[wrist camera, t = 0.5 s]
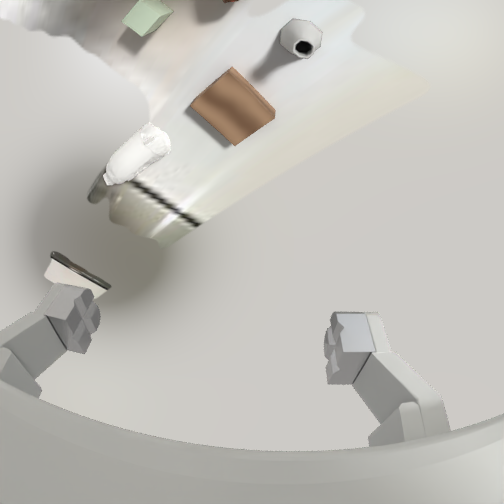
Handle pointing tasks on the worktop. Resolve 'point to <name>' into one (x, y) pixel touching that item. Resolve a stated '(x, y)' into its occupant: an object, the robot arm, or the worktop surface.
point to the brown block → (233, 107)
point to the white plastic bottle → (136, 154)
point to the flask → (301, 38)
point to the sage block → (146, 16)
